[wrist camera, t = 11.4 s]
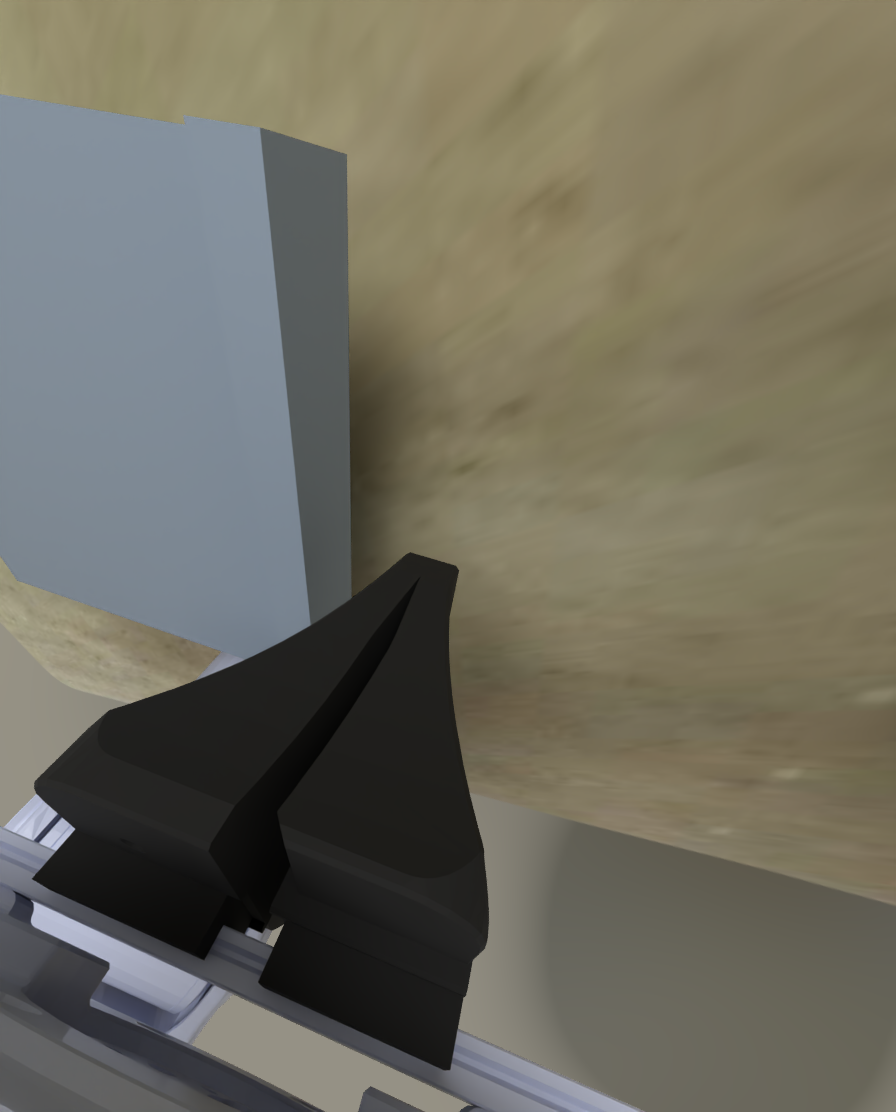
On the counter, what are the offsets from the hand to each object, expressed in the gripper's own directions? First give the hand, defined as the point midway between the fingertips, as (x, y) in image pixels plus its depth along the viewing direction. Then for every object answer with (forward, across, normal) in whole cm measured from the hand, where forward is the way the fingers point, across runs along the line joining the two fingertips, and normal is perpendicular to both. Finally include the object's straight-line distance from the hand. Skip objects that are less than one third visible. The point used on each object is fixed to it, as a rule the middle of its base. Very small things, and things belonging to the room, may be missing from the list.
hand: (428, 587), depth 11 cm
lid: (+2, +11, 0) cm, 11 cm away
